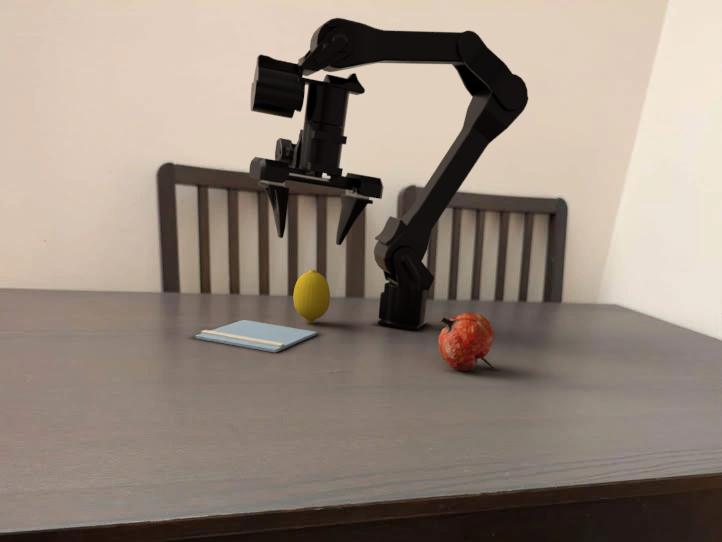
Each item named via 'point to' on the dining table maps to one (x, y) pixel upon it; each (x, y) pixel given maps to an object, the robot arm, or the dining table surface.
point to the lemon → (311, 296)
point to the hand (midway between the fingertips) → (309, 241)
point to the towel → (256, 335)
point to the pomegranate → (465, 340)
